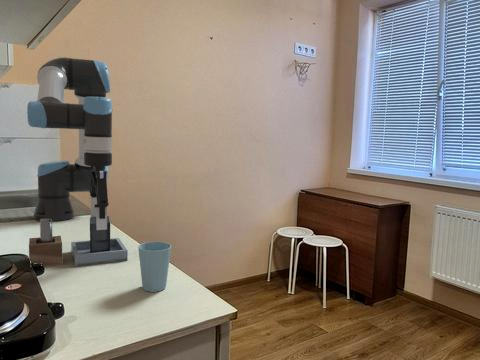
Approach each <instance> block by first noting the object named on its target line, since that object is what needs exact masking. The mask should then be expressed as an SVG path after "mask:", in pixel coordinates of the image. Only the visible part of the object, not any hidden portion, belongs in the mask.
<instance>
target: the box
mask: <svg viewBox="0 0 480 360" xmlns="http://www.w3.org/2000/svg"><path fill="white" fill-rule="evenodd" d="M110 239H111V220H110V216H109V215H107V229H106V230H96V217H91V216H90V217H89V240H90V253H96V252H106V251H110Z"/></svg>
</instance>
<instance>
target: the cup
mask: <svg viewBox="0 0 480 360" xmlns="http://www.w3.org/2000/svg"><path fill="white" fill-rule="evenodd" d="M137 248H138V249H137V250H138V256H139V267H140V276H141V285H142V290H143V289H144V290H143V291H145V290H146V291H145V292H147V291H150V292H149V293H157V291H159V292H162V291H164V290H166V287H167V284H168V283H167V282H168V273H169V267H170V259H171V252H172V244H170V243H168V242H165V241H148V242H143V243H141V244H139V245H138V246H137ZM163 289H164V290H163ZM161 290H162V291H161Z"/></svg>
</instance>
